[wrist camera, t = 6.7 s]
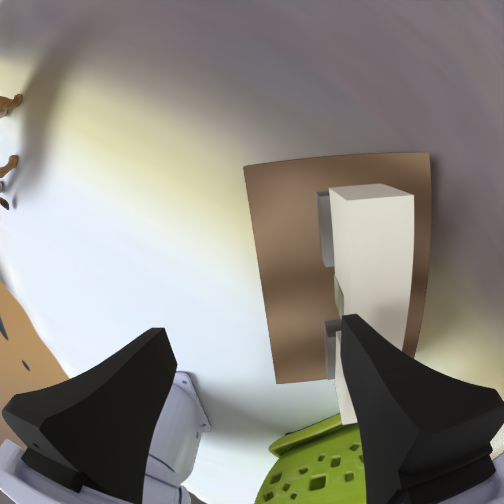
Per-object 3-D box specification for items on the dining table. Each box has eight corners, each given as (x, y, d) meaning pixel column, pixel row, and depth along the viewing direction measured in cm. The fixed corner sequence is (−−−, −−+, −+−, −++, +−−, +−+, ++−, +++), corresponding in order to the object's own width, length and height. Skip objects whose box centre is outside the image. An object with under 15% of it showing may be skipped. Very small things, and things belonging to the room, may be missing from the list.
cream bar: (373, 377, 18) (385, 416, 15) (334, 383, 19) (342, 425, 15) (381, 183, 14) (413, 195, 10) (328, 188, 14) (346, 200, 10)
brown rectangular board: (407, 352, 22) (426, 390, 17) (276, 372, 23) (275, 415, 18) (418, 152, 16) (458, 155, 11) (245, 165, 18) (234, 170, 13)
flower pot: (408, 431, 26) (431, 511, 14) (315, 470, 30) (317, 545, 18) (369, 381, 23) (400, 497, 11) (253, 432, 27) (241, 531, 15)
